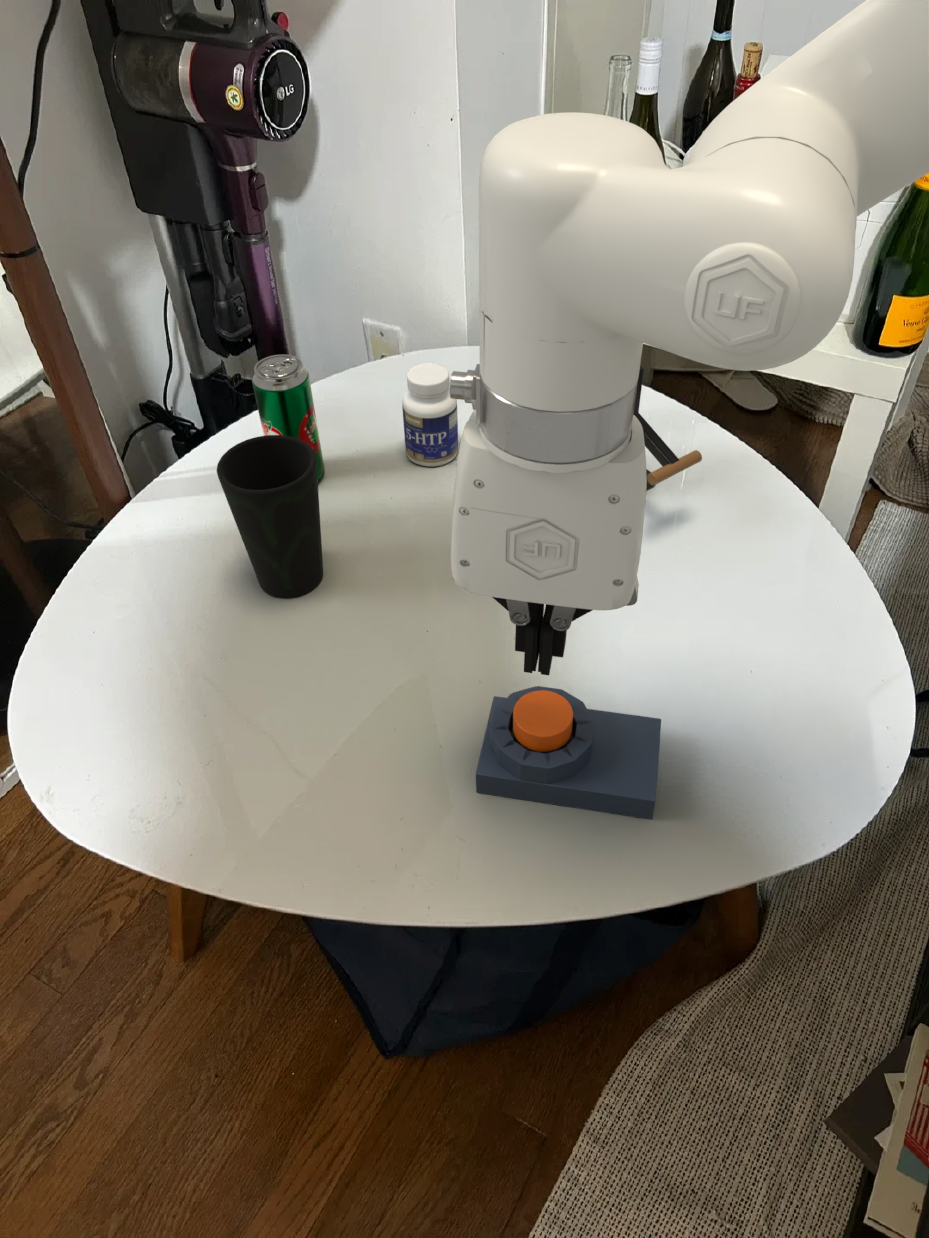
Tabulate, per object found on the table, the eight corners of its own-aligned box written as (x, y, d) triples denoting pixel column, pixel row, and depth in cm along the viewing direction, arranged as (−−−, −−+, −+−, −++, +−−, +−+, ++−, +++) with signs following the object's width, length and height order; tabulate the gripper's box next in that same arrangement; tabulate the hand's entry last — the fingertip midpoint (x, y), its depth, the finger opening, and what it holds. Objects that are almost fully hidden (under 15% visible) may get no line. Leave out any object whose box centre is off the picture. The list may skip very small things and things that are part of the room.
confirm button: (575, 710, 64) (576, 693, 63) (568, 756, 61) (569, 740, 60) (518, 702, 64) (518, 686, 63) (508, 747, 62) (508, 731, 61)
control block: (657, 737, 66) (664, 702, 64) (652, 819, 62) (659, 785, 59) (493, 714, 68) (493, 679, 66) (476, 792, 64) (474, 758, 61)
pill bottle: (401, 466, 91) (393, 386, 85) (411, 436, 95) (405, 357, 88) (454, 470, 90) (450, 390, 84) (462, 439, 94) (460, 361, 88)
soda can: (264, 474, 91) (239, 364, 82) (308, 455, 93) (289, 346, 84) (289, 499, 88) (266, 387, 79) (334, 478, 90) (317, 368, 81)
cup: (353, 574, 80) (336, 459, 71) (285, 620, 76) (257, 505, 68) (296, 536, 84) (273, 423, 75) (228, 579, 80) (196, 465, 71)
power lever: (695, 468, 81) (707, 451, 79) (650, 492, 78) (660, 475, 76) (613, 373, 84) (621, 355, 82) (567, 393, 82) (575, 375, 80)
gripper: (388, 431, 43) (409, 685, 56) (711, 465, 41) (656, 721, 54) (424, 351, 49) (436, 601, 62) (714, 378, 46) (663, 631, 59)
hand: (539, 657), depth 58 cm, fingers closed
